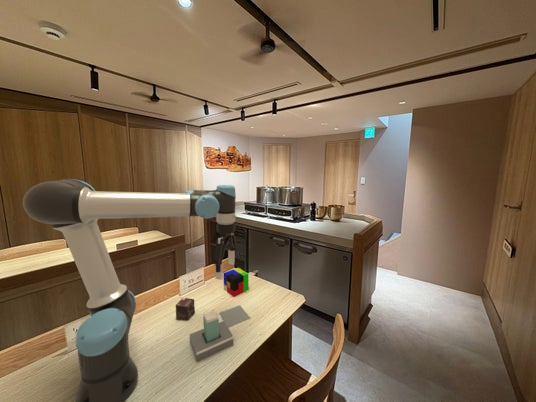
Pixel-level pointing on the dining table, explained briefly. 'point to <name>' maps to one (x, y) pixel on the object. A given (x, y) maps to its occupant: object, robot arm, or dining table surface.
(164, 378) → the dining table surface
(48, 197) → the robot arm
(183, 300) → the box
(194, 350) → the frame
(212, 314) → the plug
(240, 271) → the puzzle toy
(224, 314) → the mat
